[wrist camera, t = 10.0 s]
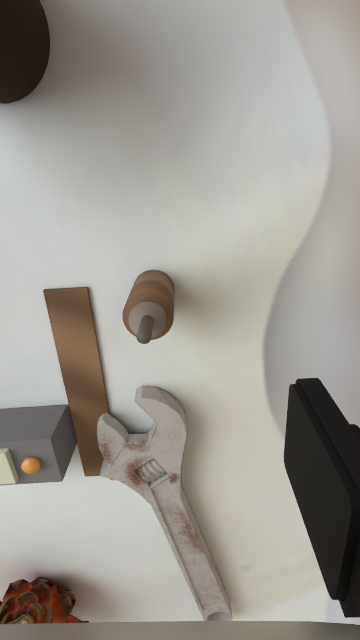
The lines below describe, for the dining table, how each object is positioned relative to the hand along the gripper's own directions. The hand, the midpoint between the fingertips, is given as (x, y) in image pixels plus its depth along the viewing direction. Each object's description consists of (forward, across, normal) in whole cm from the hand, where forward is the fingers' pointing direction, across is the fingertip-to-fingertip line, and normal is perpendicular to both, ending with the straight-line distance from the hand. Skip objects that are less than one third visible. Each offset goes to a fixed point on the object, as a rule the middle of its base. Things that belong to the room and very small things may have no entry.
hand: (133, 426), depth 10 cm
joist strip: (+14, +7, +8) cm, 18 cm away
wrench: (+13, +3, +24) cm, 28 cm away
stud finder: (+14, +12, +12) cm, 22 cm away
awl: (+14, +1, 0) cm, 14 cm away
